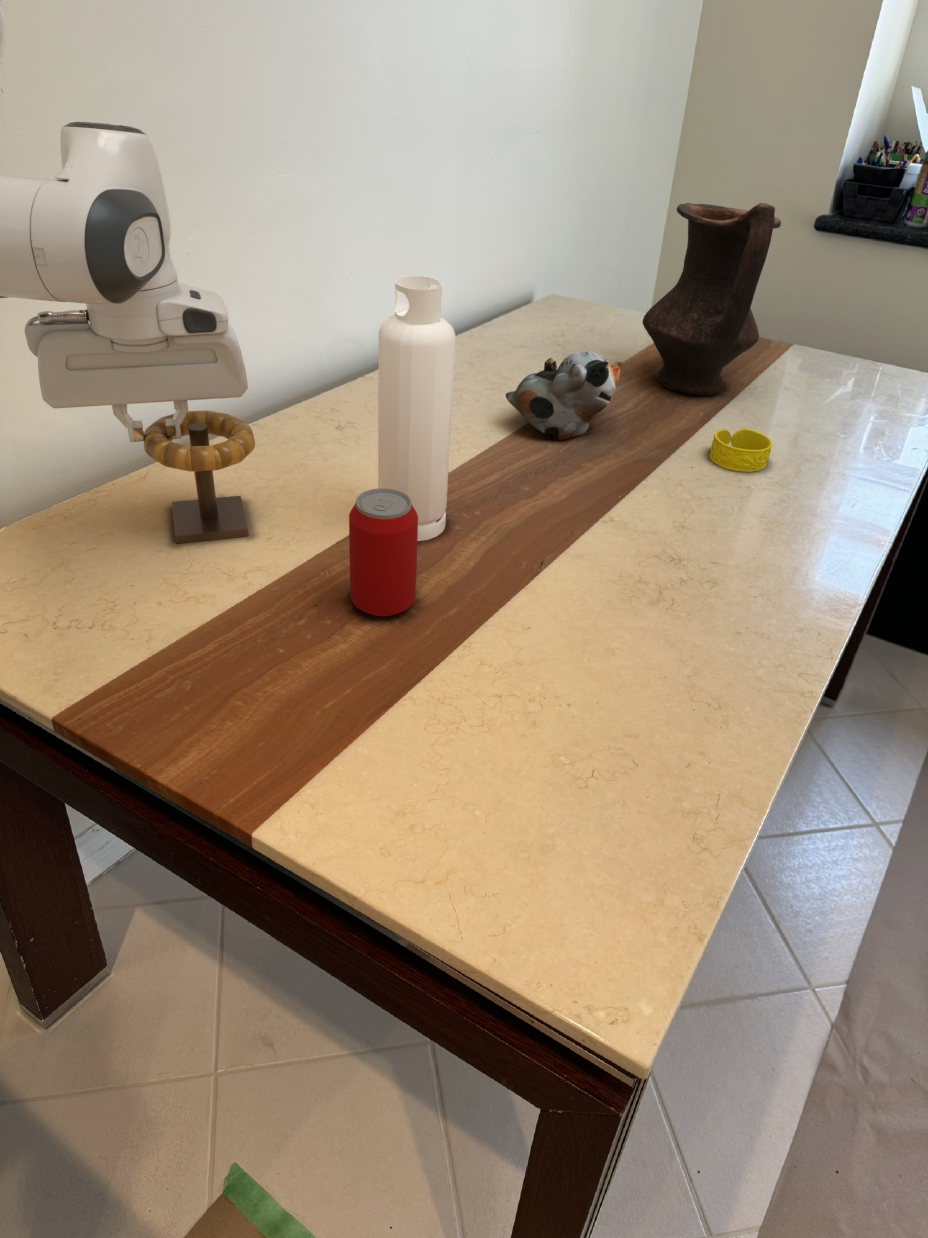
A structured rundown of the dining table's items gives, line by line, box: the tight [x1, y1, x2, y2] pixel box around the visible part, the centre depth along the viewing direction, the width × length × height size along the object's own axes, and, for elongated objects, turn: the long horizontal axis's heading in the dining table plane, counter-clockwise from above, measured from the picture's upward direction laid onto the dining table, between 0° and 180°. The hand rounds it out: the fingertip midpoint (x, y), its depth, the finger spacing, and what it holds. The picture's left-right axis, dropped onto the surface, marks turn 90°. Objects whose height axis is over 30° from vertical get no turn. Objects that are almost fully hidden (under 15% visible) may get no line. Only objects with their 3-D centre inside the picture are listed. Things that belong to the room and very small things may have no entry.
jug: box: [642, 202, 782, 396], centre depth 137 cm, size 21×18×30 cm
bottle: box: [377, 275, 457, 542], centre depth 96 cm, size 8×8×28 cm
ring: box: [143, 410, 256, 472], centre depth 96 cm, size 12×12×3 cm
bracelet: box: [709, 428, 773, 473], centre depth 123 cm, size 7×8×3 cm
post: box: [171, 423, 250, 544], centre depth 98 cm, size 8×8×12 cm
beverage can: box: [348, 487, 418, 617], centre depth 88 cm, size 7×7×12 cm
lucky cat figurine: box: [505, 350, 623, 441], centre depth 126 cm, size 15×12×14 cm
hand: (156, 438), depth 94 cm, fingers closed on ring, 2 cm apart
